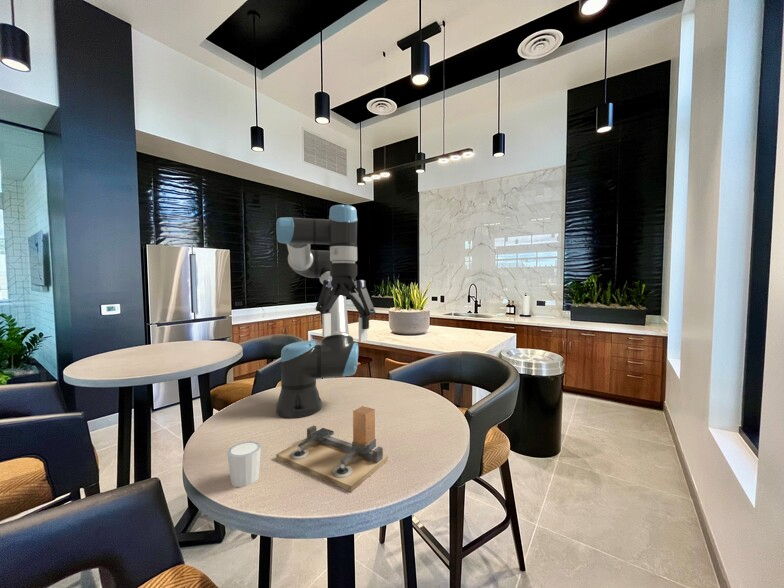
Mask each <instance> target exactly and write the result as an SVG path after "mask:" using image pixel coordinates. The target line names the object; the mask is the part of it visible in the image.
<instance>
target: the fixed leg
mask: <svg viewBox="0 0 784 588" xmlns="http://www.w3.org/2000/svg"><path fill="white" fill-rule="evenodd" d="M334 433H335V431H334V430H331V429H328V428H325V427H321V428H320V429H318V430H317V431H316V432H314V433H312V434H311V438H309V439H307V440H305V441H303V442H302V443H300V444H298V454H300V453H301V449H302V448H304V447H306V446H307V445H309V444H311V443H313V442H315V441H316V440H321V441H323V440H324V439H326V438H328V437H330V436H331V437H332V435H334Z"/></svg>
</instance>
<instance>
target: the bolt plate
mask: <svg viewBox="0 0 784 588" xmlns="http://www.w3.org/2000/svg"><path fill="white" fill-rule="evenodd" d="M316 431H318V430H317V426H316V425H311V426H310V427H309V426H308V428H306V437H305V438H304V439H302V440H300V441H298V442H296V443H294V444H293V445H290V446H289V447H287V448H285V449H284V450H283V449H282V451H279V452H278V453H276V455H275V457H276V460H277V461H280V462H282V463H285V464H287V465H289V466H291V467H293V468H295V469H298V470H300V471H302V472H305V473H308V474H310V475H312V476H314V477H317V478H319V479H321V480H323V481H325V482H328V483H330V484H332V485H335V486H337V487H339V488H341V489H344V490H346V491H348V492H351V493H352V492H353V491H355V490H356V489H357V488H358V487H359V486H360V485H362V483H363V482H365V481H366V480H367V479H368V478H369V477H370V476H372V475H373V474H374V473H375V472H376V471H378V470H379V469H380V468H381V467H382V466H383V465H385V464H386V463H387V462H388V461H389V456H388V455H387V454H385V453H384V452H383V450H384V449H383V447H381V446H376V447H375V448H374V449H372V450H371V451H370V452H368V453H367V454H366V455H365V454H362V453H360V454H359V455H357V456H356V457H355V458H353V459H352V460H350V461H349V462H348V463H346V464H345V470H344V471H341V459H342V458H343V457H344V456H346V455H347V454H349V453H350V452H352V451H353V450H352V442H349V441H346V440H342V439H339V438H336V437H333V436H332V435H331V436H330V437H328V438H326V439H324V440H323V441H321V440H316V441H315V442H313V443H311V444H309V445H307V446H306V447H304V448H302V449H301V453H300V454H298V444H300V443H302V442H303V441H305V440H307V439H309V438H311V434H312V433H314V432H316Z"/></svg>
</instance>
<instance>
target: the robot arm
mask: <svg viewBox="0 0 784 588" xmlns="http://www.w3.org/2000/svg"><path fill="white" fill-rule="evenodd" d="M275 224H276V226H275V227H276V228H275V229H276V241H277V242H278V243H279V244H285V245H286V247H287V251H288V255H287V262H288V265H289V267H290V268H291V269H292V271H294V272H295V273H296V274H298V275H300V276H303V277H306V278H309V279H310V278H311V279H319V282H320V283H321V284H322V288H321V291H320V294H319V297H318V301H317V303H316V306H315V311H316V312H319V313H320V321H321V326H322V327H321V328H322V333H321V334H322V337H323V338H322V339H321V344H317V342H316V341H315V340H311V339H310V340H300V341H296V342H292V343H291V342H290V343H289V344H287V345H285V346H283V347H282V349H281V351H280V360H279V361H280V376H281V377H280V382H281V383H280V384H281V385H280V388H281V389H280V392H279V396H278V399H277V403H276V405H275V413H276V415H278V416H279V417H282V418H287V419H288V418H290V419H291V418H293V419H296V418H297V419H298V418H303V417H309V416H311V415H315V414H317V413H318V412H320V411H321V409H322V399H321V397H320V394H319V390H318V387H317V379H328V378H338V377H340V378H341V377H342V378H344V377H350V376H351V377H352V376H353V375H355V374H356V372H357V369H358V362H359V361H358V359H359V344H358V342H359V343H363V342H366V341H368V330H369V328H370V317H371V316H374V315H376V310H375V307H374V304H373V302H372V300H371V299H372V298H370V294H369V292H368V289H367V282H366V280H364V279H358V280H357V279H356V277H358V264H357V263H356V262H357V261H358V215H357V209H356V207H355V206H352V205H349V204H335V205H332V206H330V208H329V215H328V219H325V218H309V217H308V218H304V217H292V216H291V217H290V216H289V217H279V218H277V220H276V223H275ZM311 245H329V250H320V249H319V250H318V249H317V250H315V249H311ZM347 298H348V299H350V301H351V302H352V304H353V306H354V307H355V309H356V310H357V312H358V313H359V315H360V316H359V317H358V342H356V341H354V337H353V336H352V335H350V334H349V333H350V332H349V321H348V320H349V319H348V318H349V317H348V307H347Z"/></svg>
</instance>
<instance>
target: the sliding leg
mask: <svg viewBox="0 0 784 588" xmlns="http://www.w3.org/2000/svg"><path fill="white" fill-rule="evenodd" d="M375 410H376V409H375V408H373V407H372V408H371V407H369V406H363V405H362V406H360V407H358V408H356V409H354V410H352V438H353V440H352V442H351V443H352V450H353V451H352V452H350V453H349V454H347V455H346V456H344V457H343V458H342V459H341V471H344V470H345V464H346V463H348V462H349V461H350V460H352V459H353V458H355V457H356V456H357V455H359V454H360V453H362V454H365V455H366V454H367V453H368V452H370V451H371V450H375V449H376V448H377V438H376V416H375V415H376V411H375Z"/></svg>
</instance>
